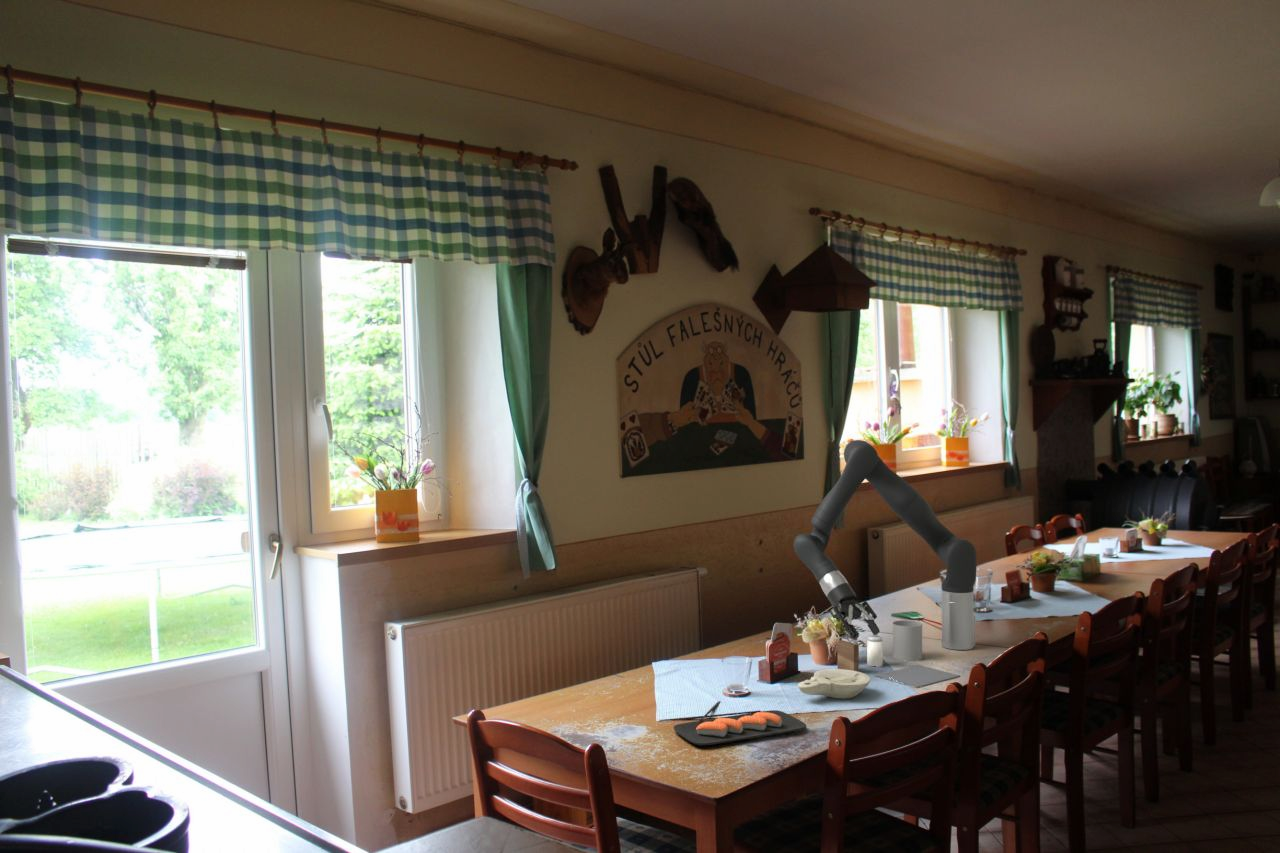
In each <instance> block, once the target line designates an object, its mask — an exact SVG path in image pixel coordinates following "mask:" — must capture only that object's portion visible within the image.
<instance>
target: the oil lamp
mask: <svg viewBox="0 0 1280 853" xmlns="http://www.w3.org/2000/svg"><path fill="white" fill-rule="evenodd" d="M870 683H871V678H870V676H869V675H867V674H866V673H863V672H860V671H859V672H857V671H853V670H845V669H838V668H830V669H829V668H828V669H827V668H826V669H819V670H816V671H815V672H814V673H813V676H811V677H810V679H805V680H803V681H800V682H799V683H797V687H798V689H799V690H800V692H801V693H803V694H805V695H809V696H824V697H828V698H834V699H846V700H847V698H848V699H852V698H854V697H856V696H857V695H859V694H861V692H862V691H863V690H864V689H866V687H868V686H869V684H870Z"/></svg>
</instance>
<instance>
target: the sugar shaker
mask: <svg viewBox="0 0 1280 853" xmlns="http://www.w3.org/2000/svg"><path fill="white" fill-rule="evenodd" d="M868 665H869V666H868ZM866 666H868V667H870V666H876V667H875V668H879V667H878V666H882V667H883V666H884V640H883V636H881V635H873V634H872V635H868V636H867V640H866Z"/></svg>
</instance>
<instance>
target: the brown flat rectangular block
mask: <svg viewBox="0 0 1280 853" xmlns="http://www.w3.org/2000/svg"><path fill="white" fill-rule="evenodd" d="M836 643H837V646H836V647H837V669H845V670H853V671H857V672H860V664H859V663H860V662H859V660H860V659H859V658H860V656H859V654H860V653H859V651H860V648H859V647H860V645H859V644H858V643H854V642H851V641H847V640H837V642H836Z"/></svg>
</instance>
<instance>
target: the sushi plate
mask: <svg viewBox="0 0 1280 853" xmlns="http://www.w3.org/2000/svg"><path fill="white" fill-rule="evenodd" d="M720 703H721V701H719V700H718V701H716V703H715V704H713V706H712V707H711V708H710V709H709V710H708V711H707V712H706V713H705V714H704V715H699V716H687V717H678V718H676V717H675V718H674V717H673V718H666V719H659V720H658V721H659V722H661V721H662V722H663V721H664V722H665V721H666V722H667V721H669V722H670V721H671V722H672V721H688V722H682V723H678V724H676V725H674V726H673V730H674V732H676V734H679V735H680V736H681V737H682V738H684V739H685V740H687V741H688V742H690V743H692V744H694V745H697V746H711V745H712V746H713V745H718V744H719V745H720V744H726V743H730V742H731V743H732V742H737V741H743V740H750V739H754V738H761V737H762V738H763V737H767V736H773V735H781V734H786V733H791V732H797V731H802V730H806V729H807V724H806V723H805V722H804V721H802V720H800V719H799V718H796V717H794V716H792V715H791V714H789V713H786V712H784V711H782V710H772V709H771V710H764V711H763V710H752V711H750V710H749V711H742V712H741V711H740V712H731V713H721V714H710V713H711V712H713V711H714V710H715V709H716V708H717V707H718V706H719V705H720ZM709 714H710V715H709ZM690 720H692V721H690ZM693 720H695V721H693Z"/></svg>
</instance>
